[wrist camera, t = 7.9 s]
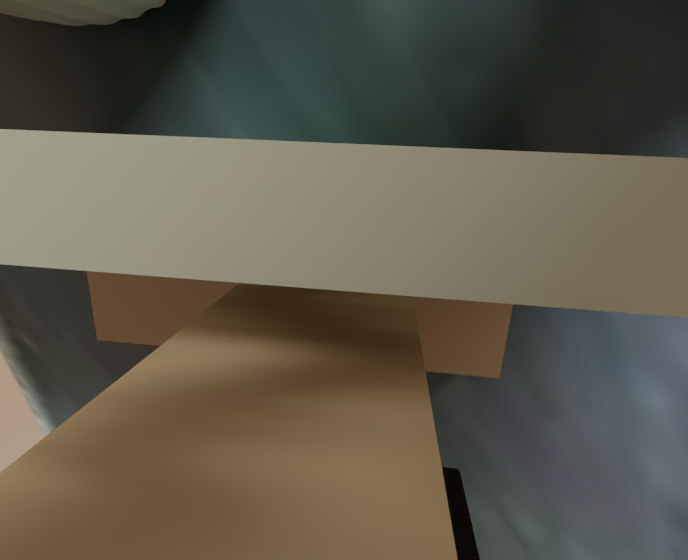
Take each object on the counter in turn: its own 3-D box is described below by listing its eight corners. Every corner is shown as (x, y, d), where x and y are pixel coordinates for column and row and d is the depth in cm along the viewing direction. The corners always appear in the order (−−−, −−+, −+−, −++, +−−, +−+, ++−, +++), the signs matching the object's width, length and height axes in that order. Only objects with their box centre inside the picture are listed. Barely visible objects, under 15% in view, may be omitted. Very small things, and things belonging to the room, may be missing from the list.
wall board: (541, 167, 16) (951, 169, 4) (506, 352, 18) (708, 667, 7) (89, 146, 18) (-468, 109, 6) (113, 317, 20) (-252, 519, 9)
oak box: (411, 291, 11) (486, 734, 2) (387, 540, 14) (384, 1149, 5) (244, 279, 12) (-179, 614, 3) (254, 522, 14) (55, 1051, 6)
